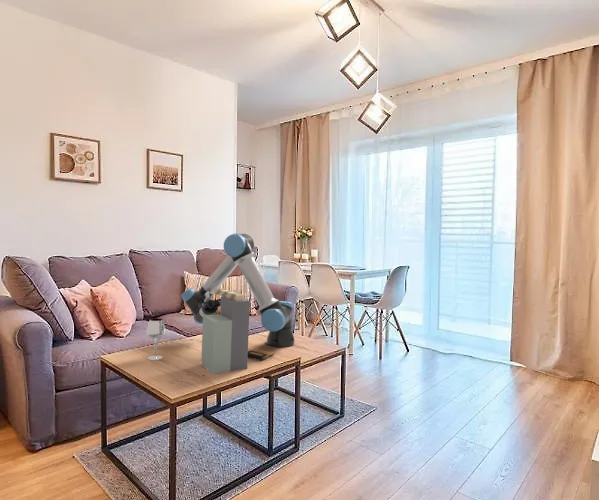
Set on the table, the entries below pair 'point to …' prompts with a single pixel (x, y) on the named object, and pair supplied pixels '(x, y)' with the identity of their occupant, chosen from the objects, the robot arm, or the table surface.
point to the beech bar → (228, 294)
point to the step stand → (226, 337)
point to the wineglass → (155, 334)
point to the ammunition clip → (259, 354)
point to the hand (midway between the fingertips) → (222, 293)
